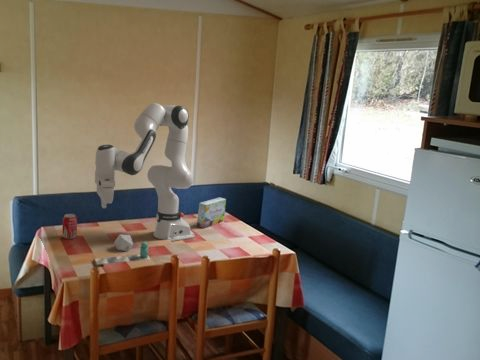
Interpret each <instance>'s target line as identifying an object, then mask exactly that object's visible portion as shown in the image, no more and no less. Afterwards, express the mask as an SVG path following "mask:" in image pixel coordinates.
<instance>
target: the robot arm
mask: <svg viewBox="0 0 480 360" xmlns="http://www.w3.org/2000/svg"><path fill="white" fill-rule="evenodd" d="M189 117H190V115H189V111H188V109H187V108H186V107H185V106H181V105H173V104H172V105H170V104H169V105H161V104H160V103H158V102H152V103H151V104H149V105H148V106H147V107H146V108H145V109H144V110H143V111H142V112H141V113H140V114H139V116H137V118H136V120H135V121H134V126H133V127H134V131H135V132H136V134H137V135H138V137H140V139H141V140H140V142H139V144H138V146H137V148H136V150H135V151H134V152H131V153H130V152H127V151H124V150H120V149H118V148H116V147H114V145H113V144H102V145H100V146H98V147H97V148H96V152H95V160H94V161H95V162H94V163H95V168H96V169H95V172H94V183H95V184H96V195H97V194H98V197H99V198H100V203H101V208H102V209H106V208H107V204H112V203H113V201H114V193H115V188H116V182H115V172H116V171H119V172H121V173H124V174H126V175H130V176H135V175H137V174H138V173H140V172H141V171H142V169H143V166H144V163H145V160H146V159H147V156H148V154H149V152H150V151H151V149H152V147H153V145H154V143H155V141H156V137H157V133H156V132H157V130H158V129H159V128H160V126H161V127H167V128H168V133H167V138H166V143H165V148H164V156H165V157H166V158H167V159H168V160H169V161H170V162H171V166H168V165H162V164H160V165H158V164H157V165H151V166H150V167H149V169H148V170H147V174H146V175H147V176H146V177H147V179H148V182H150V184H152V186H153V187H154V189H155V191H156V194H157V202H158V203H157V204H158V205H157V211H156V218H155V219H156V224H155V230H154V232H153V237H155V238H156V239H159V240H164V241H166V240H170V241H171V242H176V241H181V240H189V239H194V238H195V233H194V232H193V231H192V230H191V226H190V224H189V223H188V222H187V221H186V220H185V219H184V217H185V214H184V213H183V212H181V211H180V210H179V206H180V205H179V203H180V199H179V197H178V195H177V194H176V193H174V191H173V190H172V188H173V189H178V190H181V189H182V190H185V189H189V188H190V187H191V186H192V185H193V182H194V175H193V173H192V172H191V170H190V169H189V168H188V166H187V163H186V151H187V146H188V141H189V127H188V122H189Z"/></svg>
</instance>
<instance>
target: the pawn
mask: <svg viewBox="0 0 480 360" xmlns="http://www.w3.org/2000/svg"><path fill="white" fill-rule="evenodd" d="M139 251H140V252H139V255H140V258H147V257H148V256H149V255H148V254H149V244H148V242H146V241H143V242H141V244H140V250H139ZM140 258H139V259H140Z"/></svg>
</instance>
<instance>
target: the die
mask: <svg viewBox="0 0 480 360" xmlns="http://www.w3.org/2000/svg"><path fill="white" fill-rule="evenodd" d="M113 244H114V247H115V249H116V250H117V251H120V252H121V251H122V252H129V251H130V250H131V249H132V247H133V246H134V242H133V239H132V236H131V235H130V234H120V233H119V234H118V236H117V238H116V239H115V240H114V242H113Z"/></svg>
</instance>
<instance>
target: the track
mask: <svg viewBox="0 0 480 360" xmlns="http://www.w3.org/2000/svg"><path fill="white" fill-rule="evenodd" d="M146 260H151V258H150V256H149V255H148V257H147V258H140V254H131V255H120V256H110V257H100V258H93V261H92V262H93V264H94V266H95V268H101V267H105V266H104V265H105V264H113V263H114V264H115V263H123V262H125V263H126V262H132V261H135V262H137V261H146Z"/></svg>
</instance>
